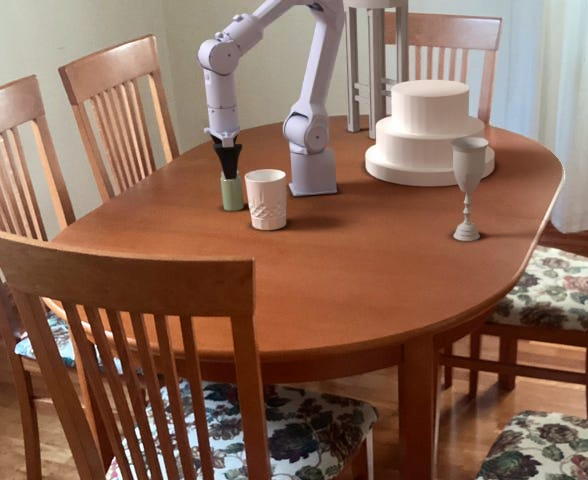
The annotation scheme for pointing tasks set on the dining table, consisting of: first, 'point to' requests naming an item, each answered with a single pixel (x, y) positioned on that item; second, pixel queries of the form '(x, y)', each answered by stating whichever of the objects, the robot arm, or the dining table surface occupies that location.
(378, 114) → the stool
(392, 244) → the dining table surface
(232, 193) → the salt shaker
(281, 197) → the white cup
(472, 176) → the chalice
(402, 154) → the cake
